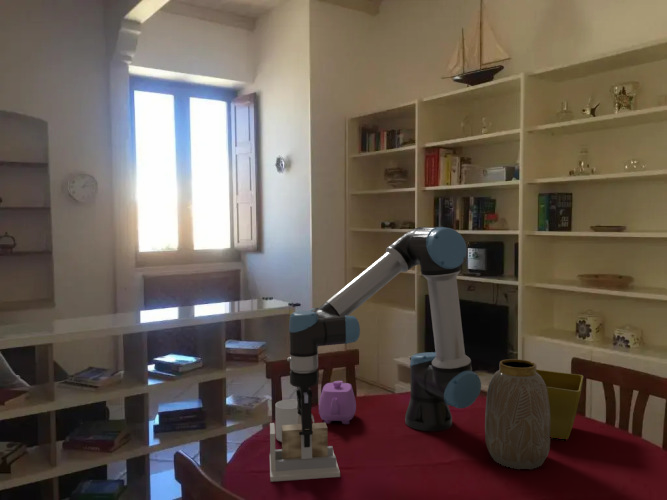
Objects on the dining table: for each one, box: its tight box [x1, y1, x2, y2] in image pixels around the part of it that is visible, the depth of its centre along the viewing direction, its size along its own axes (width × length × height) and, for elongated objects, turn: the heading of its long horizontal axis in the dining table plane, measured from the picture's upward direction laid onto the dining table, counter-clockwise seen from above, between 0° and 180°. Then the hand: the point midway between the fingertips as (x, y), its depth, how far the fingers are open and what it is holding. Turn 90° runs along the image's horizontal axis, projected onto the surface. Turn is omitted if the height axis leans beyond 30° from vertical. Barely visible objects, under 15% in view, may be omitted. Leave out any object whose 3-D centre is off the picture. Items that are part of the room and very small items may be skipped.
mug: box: [274, 398, 315, 443], centre depth 168 cm, size 9×12×11 cm
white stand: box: [269, 422, 341, 483], centre depth 149 cm, size 18×14×11 cm
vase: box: [484, 358, 551, 470], centre depth 152 cm, size 17×17×27 cm
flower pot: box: [536, 369, 584, 440], centre depth 173 cm, size 19×19×17 cm
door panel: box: [281, 422, 329, 459], centre depth 149 cm, size 12×4×10 cm, turn 98°
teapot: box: [318, 380, 357, 425], centre depth 184 cm, size 20×12×13 cm, turn 174°
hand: (304, 447), depth 149 cm, fingers open, 12 cm apart
